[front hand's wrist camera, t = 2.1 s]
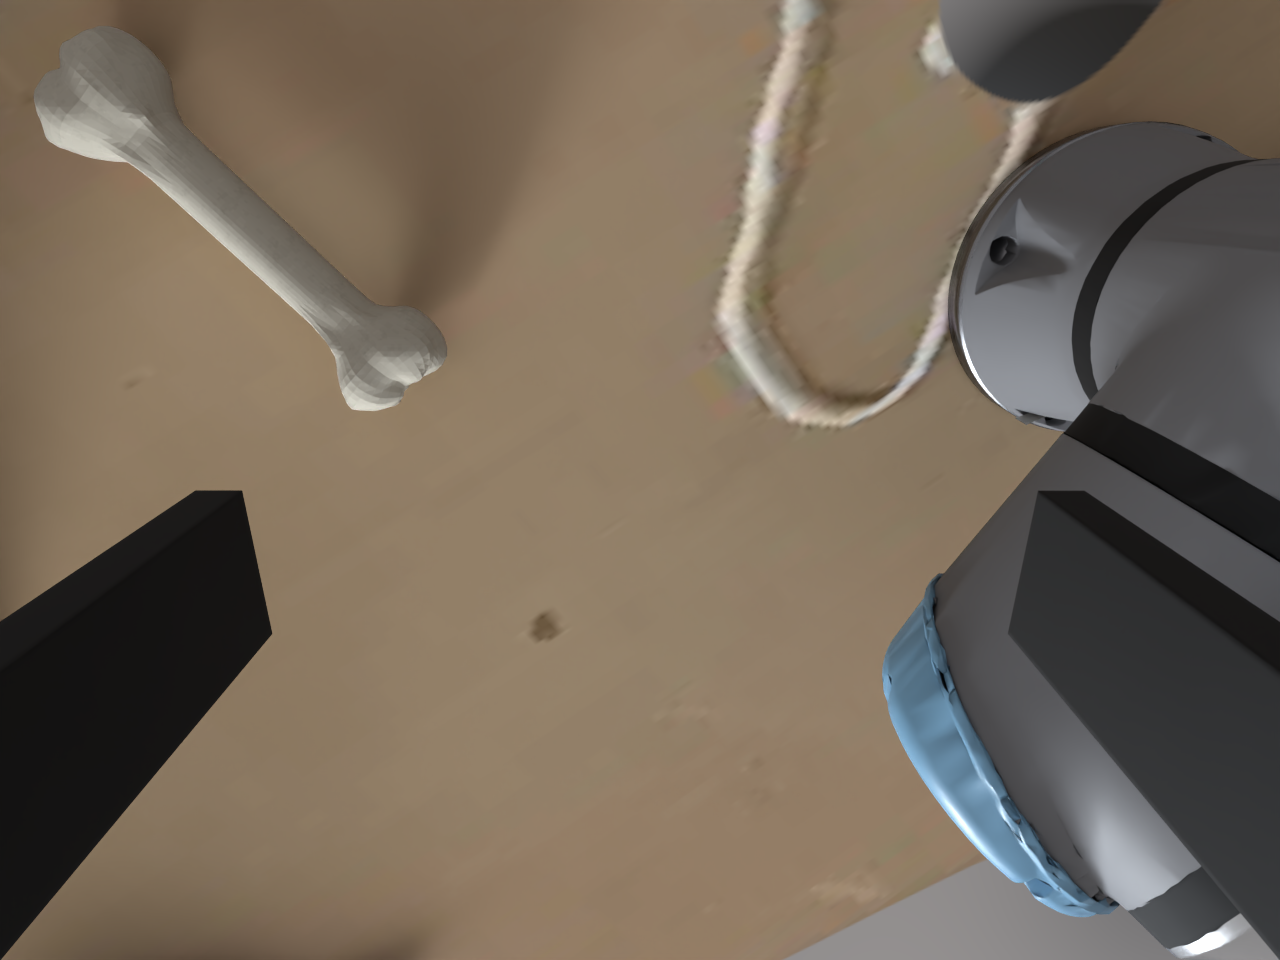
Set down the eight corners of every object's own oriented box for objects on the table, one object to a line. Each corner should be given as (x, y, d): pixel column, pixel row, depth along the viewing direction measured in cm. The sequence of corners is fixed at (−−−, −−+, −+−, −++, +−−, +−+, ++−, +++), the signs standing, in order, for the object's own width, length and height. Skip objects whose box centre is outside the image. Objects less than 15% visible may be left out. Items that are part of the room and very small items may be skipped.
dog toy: (65, 117, 35) (-20, 107, 31) (137, 17, 34) (58, -10, 29) (394, 413, 41) (364, 443, 36) (468, 338, 39) (447, 359, 35)
